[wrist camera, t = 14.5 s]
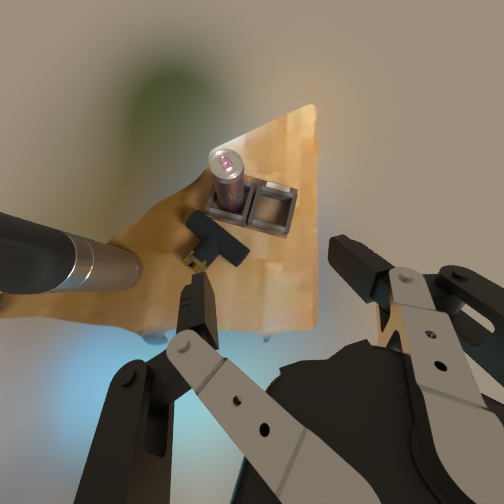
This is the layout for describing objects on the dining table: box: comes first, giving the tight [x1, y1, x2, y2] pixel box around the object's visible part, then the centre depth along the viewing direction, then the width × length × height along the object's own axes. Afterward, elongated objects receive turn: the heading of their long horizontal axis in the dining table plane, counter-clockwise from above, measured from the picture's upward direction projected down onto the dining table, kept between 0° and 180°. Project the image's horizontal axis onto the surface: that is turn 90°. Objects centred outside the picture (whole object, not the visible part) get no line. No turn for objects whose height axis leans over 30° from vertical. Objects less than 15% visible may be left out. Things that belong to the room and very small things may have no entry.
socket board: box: [205, 175, 298, 238], centre depth 45 cm, size 20×13×4 cm, turn 75°
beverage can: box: [210, 149, 244, 213], centre depth 38 cm, size 6×6×15 cm
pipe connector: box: [182, 210, 250, 273], centre depth 42 cm, size 12×5×15 cm
